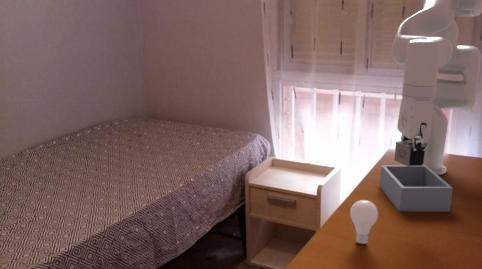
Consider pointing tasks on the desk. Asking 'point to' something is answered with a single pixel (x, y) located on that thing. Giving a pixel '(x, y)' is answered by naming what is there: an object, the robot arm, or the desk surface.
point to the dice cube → (404, 152)
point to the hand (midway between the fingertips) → (411, 159)
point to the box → (415, 188)
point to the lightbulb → (363, 218)
